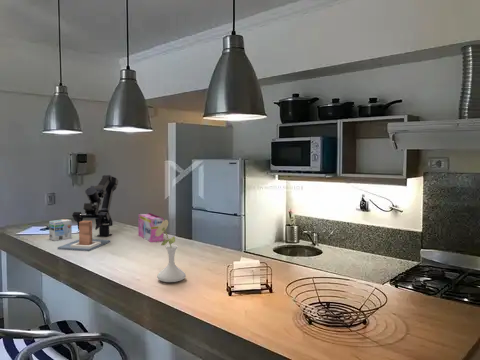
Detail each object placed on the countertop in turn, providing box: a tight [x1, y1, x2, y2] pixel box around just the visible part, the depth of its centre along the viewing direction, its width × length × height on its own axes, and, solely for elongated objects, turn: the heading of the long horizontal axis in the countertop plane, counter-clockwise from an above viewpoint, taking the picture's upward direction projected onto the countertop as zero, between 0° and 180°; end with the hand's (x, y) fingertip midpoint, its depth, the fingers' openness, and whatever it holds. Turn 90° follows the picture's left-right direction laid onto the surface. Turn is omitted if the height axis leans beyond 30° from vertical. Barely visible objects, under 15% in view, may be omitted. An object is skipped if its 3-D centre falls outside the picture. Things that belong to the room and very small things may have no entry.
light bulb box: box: [48, 218, 73, 241], centre depth 234 cm, size 11×7×11 cm, turn 143°
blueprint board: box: [57, 238, 111, 252], centre depth 218 cm, size 22×18×2 cm
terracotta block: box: [78, 220, 93, 245], centre depth 213 cm, size 5×5×13 cm
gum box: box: [137, 212, 165, 243], centre depth 240 cm, size 24×8×14 cm, turn 33°
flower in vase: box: [155, 219, 187, 283], centre depth 159 cm, size 13×11×25 cm
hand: (87, 229), depth 215 cm, fingers open, 9 cm apart
